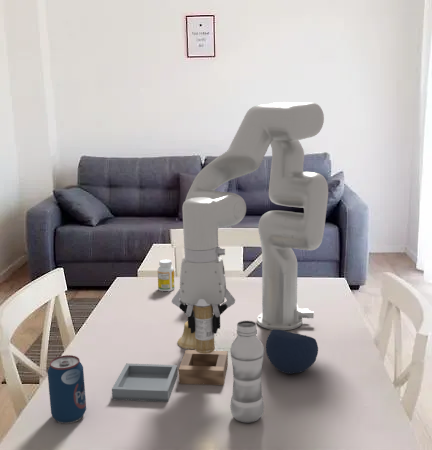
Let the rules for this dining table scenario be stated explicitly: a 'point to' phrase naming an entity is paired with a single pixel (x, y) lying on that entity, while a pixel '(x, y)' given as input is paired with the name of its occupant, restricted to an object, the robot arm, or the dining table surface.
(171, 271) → the supplement bottle
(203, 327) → the sprinkles bottle
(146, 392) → the tray
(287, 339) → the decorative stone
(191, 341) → the hand bell
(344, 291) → the dining table surface
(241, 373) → the plastic bottle
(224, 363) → the holder block
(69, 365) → the soda can
